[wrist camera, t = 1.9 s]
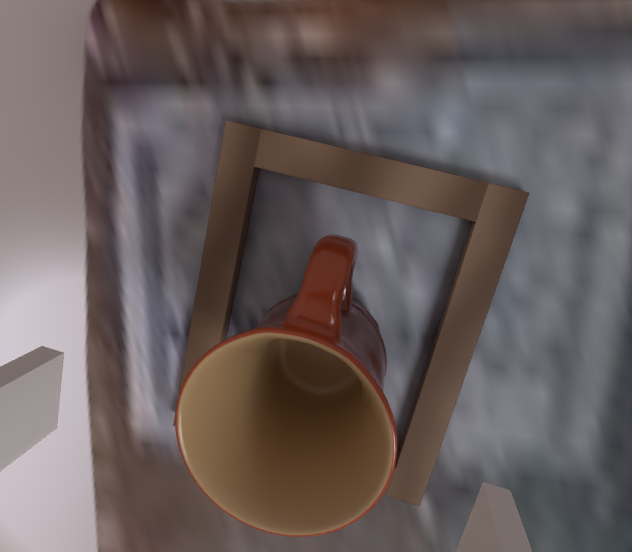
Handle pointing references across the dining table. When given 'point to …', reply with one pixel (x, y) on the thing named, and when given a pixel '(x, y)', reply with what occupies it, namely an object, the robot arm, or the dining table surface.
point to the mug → (294, 409)
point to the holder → (387, 183)
